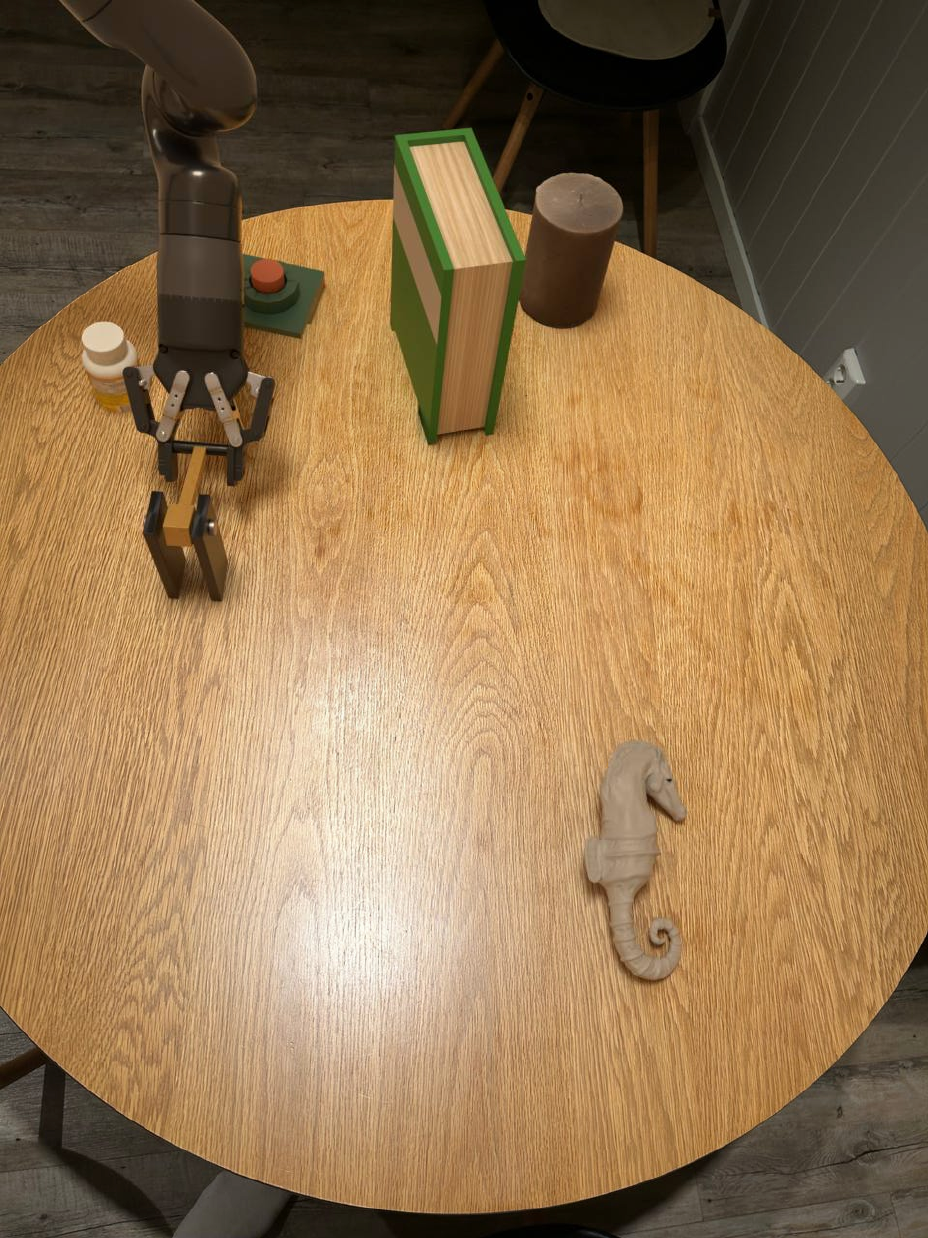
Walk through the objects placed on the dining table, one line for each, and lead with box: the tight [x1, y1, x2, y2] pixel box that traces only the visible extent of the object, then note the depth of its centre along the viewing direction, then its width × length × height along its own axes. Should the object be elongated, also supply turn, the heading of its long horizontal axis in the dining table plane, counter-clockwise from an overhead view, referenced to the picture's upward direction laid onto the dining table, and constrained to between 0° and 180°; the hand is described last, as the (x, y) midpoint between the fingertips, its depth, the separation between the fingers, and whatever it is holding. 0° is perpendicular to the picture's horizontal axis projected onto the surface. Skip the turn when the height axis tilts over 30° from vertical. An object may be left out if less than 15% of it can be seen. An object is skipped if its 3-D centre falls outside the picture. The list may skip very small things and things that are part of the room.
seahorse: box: [583, 739, 688, 981], centre depth 81 cm, size 5×12×20 cm
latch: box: [163, 439, 230, 548], centre depth 84 cm, size 12×5×2 cm, turn 179°
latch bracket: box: [142, 490, 229, 602], centre depth 85 cm, size 10×8×13 cm
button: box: [251, 258, 285, 294], centre depth 104 cm, size 4×4×2 cm
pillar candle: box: [519, 172, 624, 329], centre depth 106 cm, size 10×10×15 cm
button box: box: [242, 253, 326, 339], centre depth 106 cm, size 10×10×4 cm
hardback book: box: [389, 127, 526, 446], centre depth 95 cm, size 18×7×24 cm, turn 16°
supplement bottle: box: [81, 321, 142, 414], centre depth 96 cm, size 5×5×10 cm
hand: (202, 482), depth 89 cm, fingers closed on latch, 5 cm apart
